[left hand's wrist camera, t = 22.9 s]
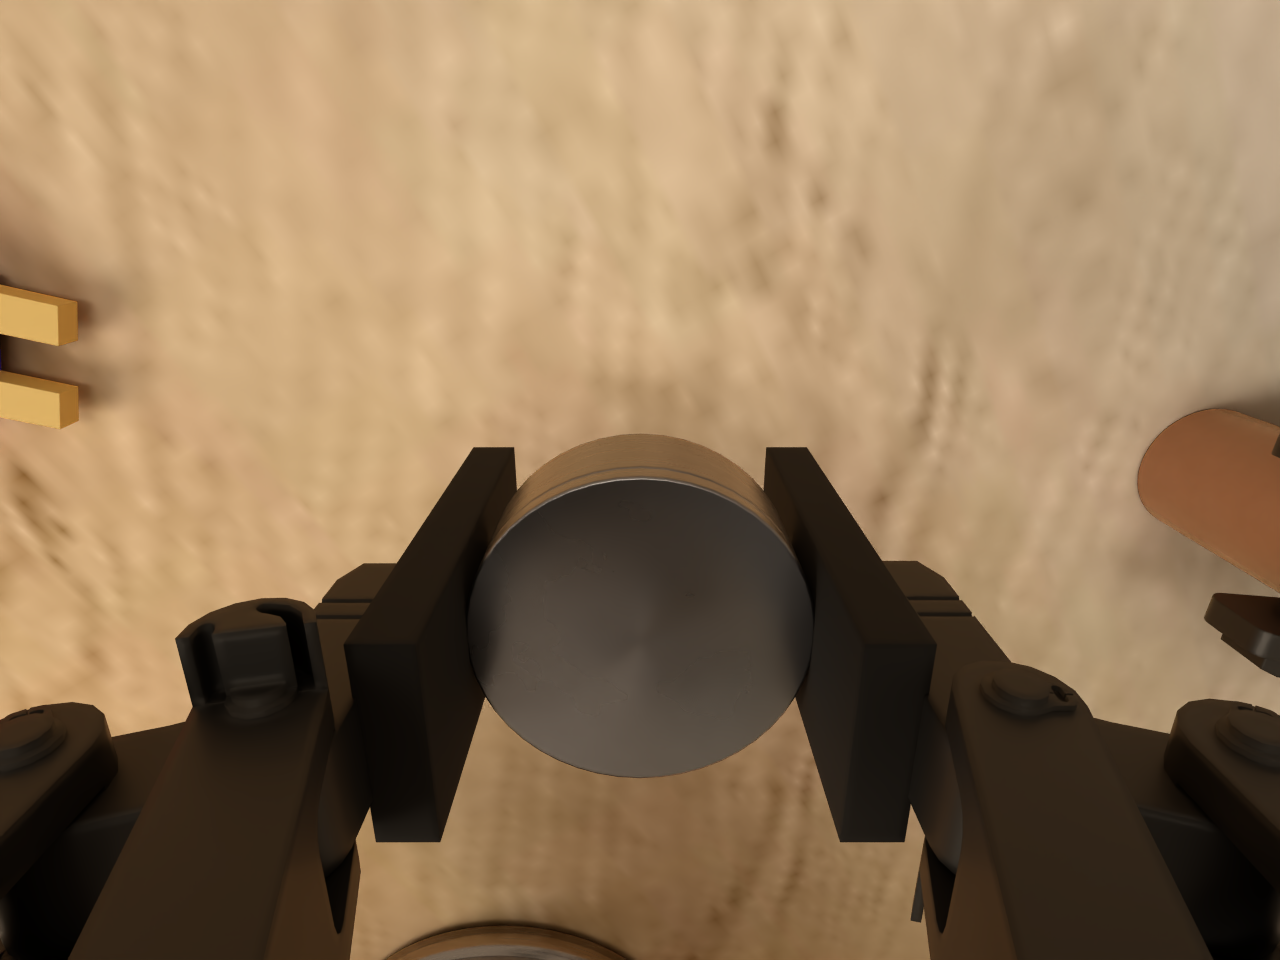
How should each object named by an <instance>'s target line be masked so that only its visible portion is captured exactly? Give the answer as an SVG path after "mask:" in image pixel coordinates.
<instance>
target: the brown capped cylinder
mask: <svg viewBox="0 0 1280 960" xmlns="http://www.w3.org/2000/svg"><path fill="white" fill-rule="evenodd" d="M1279 433H1280V427H1279V426H1277V425H1274V424H1271V423H1268V422H1265V421H1262V420H1259V419H1256V418H1254V417H1251V416H1248V415H1245V414H1242V413H1239V412H1236V411H1233V410H1228V409H1209V410H1204V411H1199V412H1196V413H1193V414H1190V415H1188V416H1186V417H1183V418H1182V419H1180V420H1178V421H1176V422H1175V423H1173V424H1172V425H1170V426H1169V427H1168V428H1166V429H1165V430H1164V431H1163V432H1162V433H1161V434H1160V435H1159V436H1158V437H1157V438H1156V439H1155V440H1154V442H1153V443H1152V444H1151V445H1150V447H1149V448H1148V450H1147V452H1146V453H1145V455H1144V458H1143V460H1142V462H1141V465H1140V469H1139V474H1138V491H1139V495H1140V498H1141V500H1142V502H1143V505H1144V506H1145V508H1146V509H1147V510H1148V511H1149V512H1150V513H1151V514H1152V515H1153V516H1154V517H1155V518H1157V519H1158V520H1160V521H1162V522H1163V523H1165V524H1166V525H1168V526H1170V527H1171V528H1173V529H1175V530H1176V531H1178V532H1180V533H1181V534H1183V535H1185V536H1186V537H1188V538H1190V539H1191V540H1193V541H1195V542H1196V543H1198V544H1199V545H1201V546H1203V547H1204V548H1206V549H1208V550H1209V551H1211V552H1213V553H1214V554H1216V555H1218V556H1219V557H1221V558H1223V559H1224V560H1226V561H1228V562H1229V563H1231V564H1233V565H1234V566H1236V567H1237V568H1239V569H1241V570H1242V571H1244V572H1246V573H1247V574H1249V575H1251V576H1252V577H1254V578H1256V579H1257V580H1259V581H1261V582H1262V583H1264V584H1266V585H1267V586H1269V587H1270V588H1272V589H1274V590H1275V591H1277V592H1279V593H1280V458H1278V457H1276V456H1274V455H1272V454H1271V453H1272V450H1273V448H1274V445H1275V443H1276V440H1277V438H1278V435H1279Z"/></svg>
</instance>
